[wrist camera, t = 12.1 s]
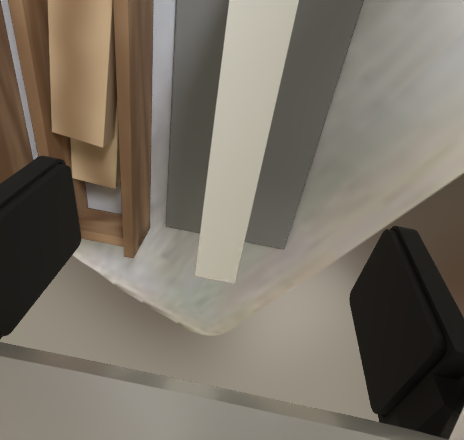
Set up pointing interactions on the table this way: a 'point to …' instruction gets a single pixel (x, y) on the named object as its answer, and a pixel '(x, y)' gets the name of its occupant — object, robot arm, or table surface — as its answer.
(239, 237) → the cream rectangular panel
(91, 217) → the rack
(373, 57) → the table surface
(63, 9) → the offcut short
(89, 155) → the offcut long
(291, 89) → the mat
